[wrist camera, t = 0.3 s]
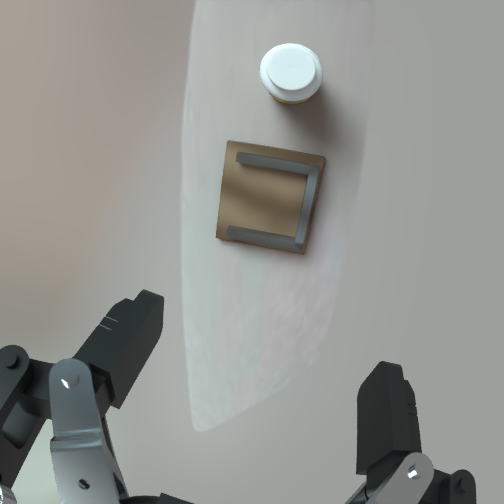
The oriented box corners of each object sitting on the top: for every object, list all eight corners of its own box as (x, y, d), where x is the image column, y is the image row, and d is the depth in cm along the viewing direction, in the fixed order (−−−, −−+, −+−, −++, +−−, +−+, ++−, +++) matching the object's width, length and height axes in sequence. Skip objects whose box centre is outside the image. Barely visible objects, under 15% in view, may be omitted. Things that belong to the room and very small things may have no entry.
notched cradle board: (229, 140, 34) (224, 142, 32) (323, 156, 33) (325, 159, 31) (217, 234, 39) (212, 242, 37) (303, 250, 39) (303, 259, 36)
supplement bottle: (282, 113, 32) (277, 111, 23) (257, 72, 30) (243, 55, 21) (325, 92, 30) (338, 82, 21) (301, 50, 28) (304, 26, 19)
